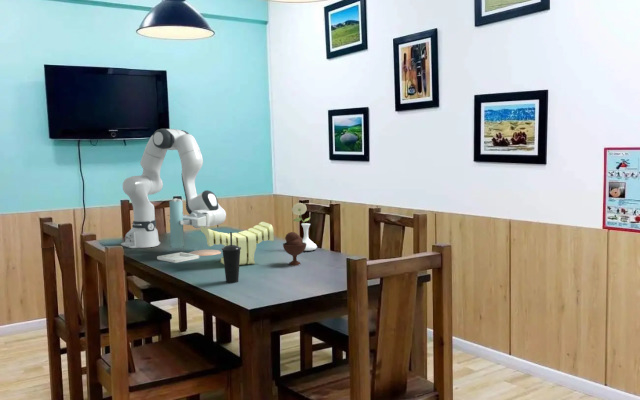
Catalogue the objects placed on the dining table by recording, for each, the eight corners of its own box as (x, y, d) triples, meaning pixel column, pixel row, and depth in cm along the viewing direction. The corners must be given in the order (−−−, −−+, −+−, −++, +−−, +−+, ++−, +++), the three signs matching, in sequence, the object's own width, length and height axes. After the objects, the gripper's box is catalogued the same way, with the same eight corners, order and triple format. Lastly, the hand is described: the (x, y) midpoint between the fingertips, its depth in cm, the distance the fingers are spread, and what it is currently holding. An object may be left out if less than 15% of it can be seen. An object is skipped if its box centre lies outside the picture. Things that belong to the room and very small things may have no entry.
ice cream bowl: (304, 266, 259) (303, 233, 257) (279, 266, 261) (279, 233, 260) (309, 262, 269) (308, 230, 268) (286, 261, 271) (285, 229, 270)
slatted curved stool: (210, 269, 255) (209, 229, 254) (201, 263, 270) (200, 225, 268) (274, 263, 268) (273, 225, 266) (262, 257, 282) (262, 221, 281)
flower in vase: (318, 248, 306) (317, 201, 304) (315, 252, 295) (315, 203, 292) (293, 248, 307) (293, 201, 305) (290, 252, 296) (289, 203, 294)
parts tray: (157, 260, 277) (157, 256, 277) (181, 256, 288) (181, 252, 288) (175, 264, 268) (175, 259, 268) (199, 259, 279) (199, 255, 279)
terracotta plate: (182, 254, 292) (182, 252, 292) (207, 250, 304) (207, 248, 304) (202, 258, 282) (202, 256, 282) (227, 253, 294) (227, 251, 294)
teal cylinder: (168, 246, 277) (166, 198, 275) (178, 244, 282) (177, 197, 279) (175, 248, 273) (174, 199, 271) (186, 246, 278) (184, 198, 276)
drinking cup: (223, 279, 235) (222, 231, 233) (242, 279, 236) (241, 230, 234) (221, 284, 228) (220, 233, 226) (241, 283, 228) (240, 233, 226)
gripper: (184, 211, 293) (161, 213, 282) (211, 214, 280) (188, 217, 269) (185, 223, 293) (162, 226, 283) (211, 227, 280) (188, 230, 270)
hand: (175, 221), depth 276 cm, fingers closed on teal cylinder, 6 cm apart
